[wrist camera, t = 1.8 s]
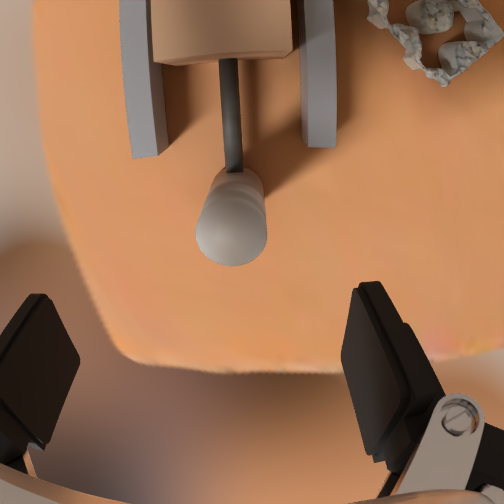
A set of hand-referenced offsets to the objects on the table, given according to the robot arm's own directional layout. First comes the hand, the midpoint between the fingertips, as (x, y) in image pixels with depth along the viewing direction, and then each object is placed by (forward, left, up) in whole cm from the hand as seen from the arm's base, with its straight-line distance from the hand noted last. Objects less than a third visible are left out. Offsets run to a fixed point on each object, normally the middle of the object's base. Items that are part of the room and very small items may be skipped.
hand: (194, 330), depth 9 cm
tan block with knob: (-1, -6, -12) cm, 14 cm away
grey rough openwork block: (-12, -13, -13) cm, 22 cm away
